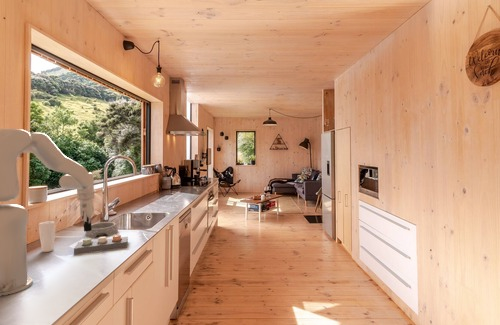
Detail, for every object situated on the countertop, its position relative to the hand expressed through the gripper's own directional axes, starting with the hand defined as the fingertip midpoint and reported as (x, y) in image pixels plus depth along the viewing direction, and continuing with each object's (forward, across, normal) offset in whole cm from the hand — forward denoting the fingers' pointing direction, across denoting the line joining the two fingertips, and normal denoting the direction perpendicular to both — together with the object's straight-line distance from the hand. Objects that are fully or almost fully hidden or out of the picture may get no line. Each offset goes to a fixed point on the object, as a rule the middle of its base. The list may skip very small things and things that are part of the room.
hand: (87, 230), depth 139 cm
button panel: (+10, -1, -6) cm, 12 cm away
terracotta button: (+8, -1, -14) cm, 16 cm away
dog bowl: (+11, +30, -2) cm, 32 cm away
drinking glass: (+10, +6, +20) cm, 23 cm away
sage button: (+8, -1, 0) cm, 8 cm away
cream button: (+8, -1, -7) cm, 10 cm away
